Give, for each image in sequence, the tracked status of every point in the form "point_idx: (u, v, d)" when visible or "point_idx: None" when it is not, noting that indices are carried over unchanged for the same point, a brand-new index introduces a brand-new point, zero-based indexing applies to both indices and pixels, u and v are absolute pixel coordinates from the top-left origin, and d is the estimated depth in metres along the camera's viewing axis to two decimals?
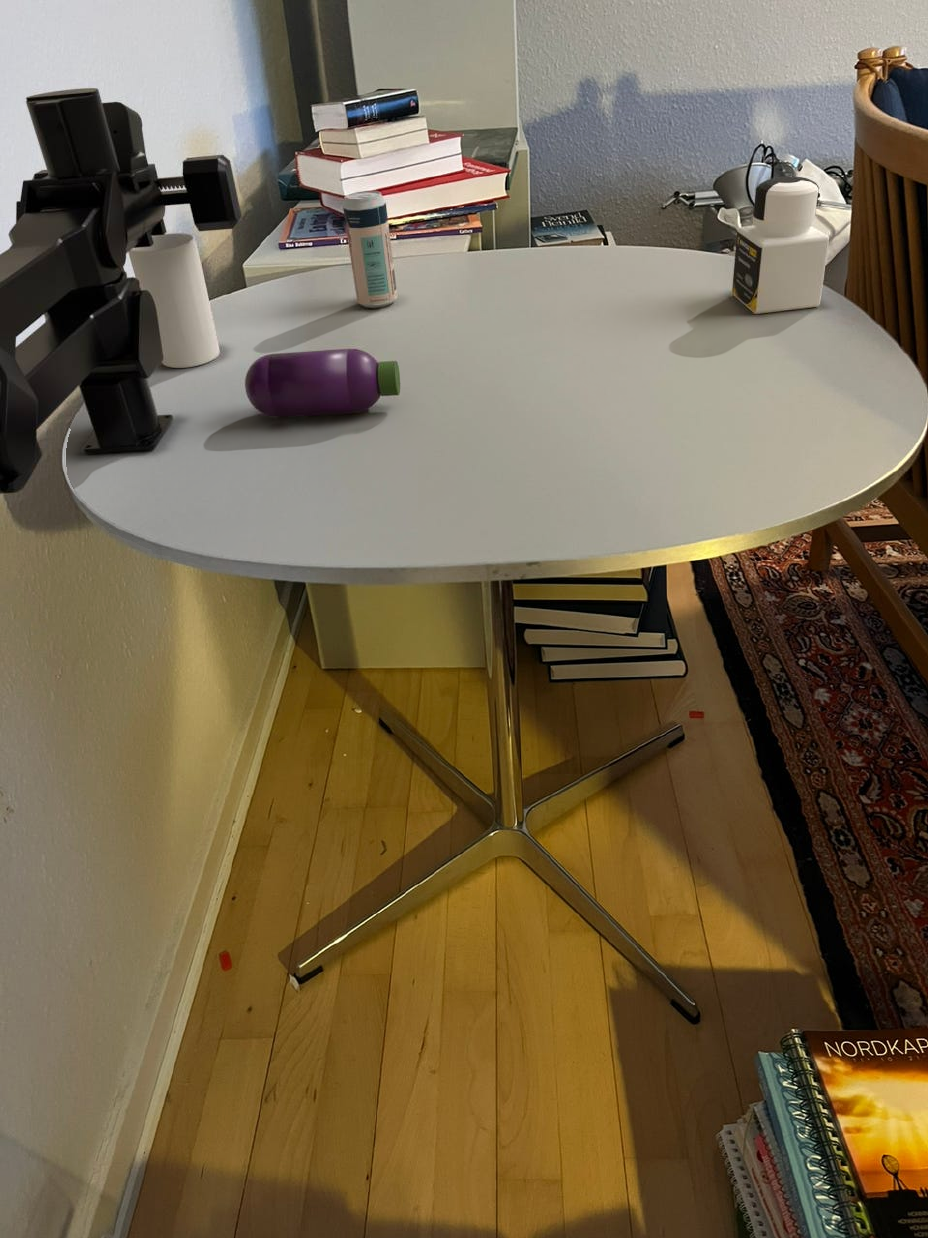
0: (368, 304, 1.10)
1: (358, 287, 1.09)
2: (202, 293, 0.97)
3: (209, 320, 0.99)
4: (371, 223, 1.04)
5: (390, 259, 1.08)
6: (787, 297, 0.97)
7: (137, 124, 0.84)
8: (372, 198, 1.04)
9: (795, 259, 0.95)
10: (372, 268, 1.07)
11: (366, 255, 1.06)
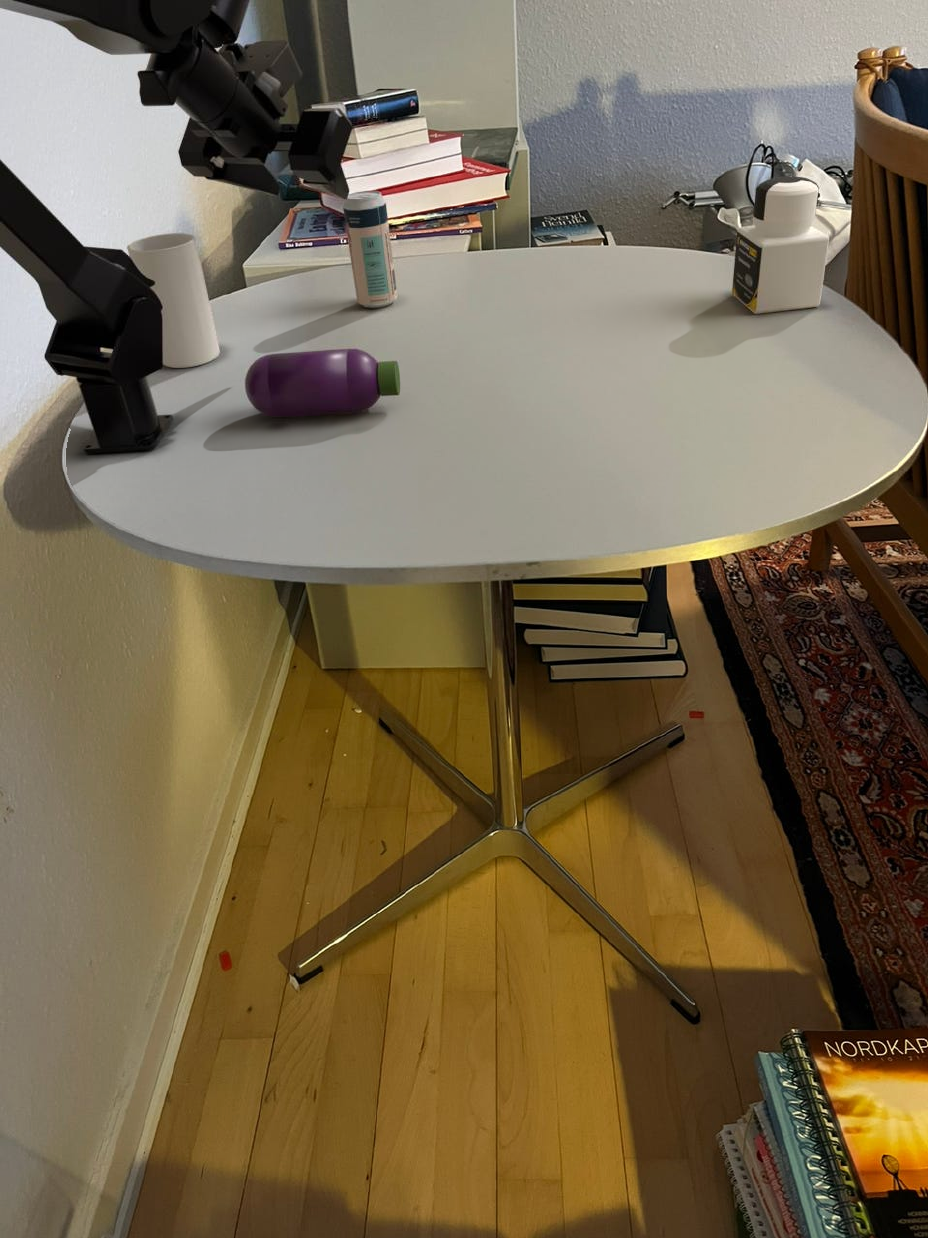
0: (368, 304, 1.10)
1: (358, 287, 1.09)
2: (202, 293, 0.97)
3: (209, 320, 0.99)
4: (371, 224, 1.04)
5: (390, 259, 1.08)
6: (787, 297, 0.97)
7: (292, 68, 0.89)
8: (372, 198, 1.04)
9: (795, 259, 0.95)
10: (372, 268, 1.07)
11: (366, 255, 1.06)
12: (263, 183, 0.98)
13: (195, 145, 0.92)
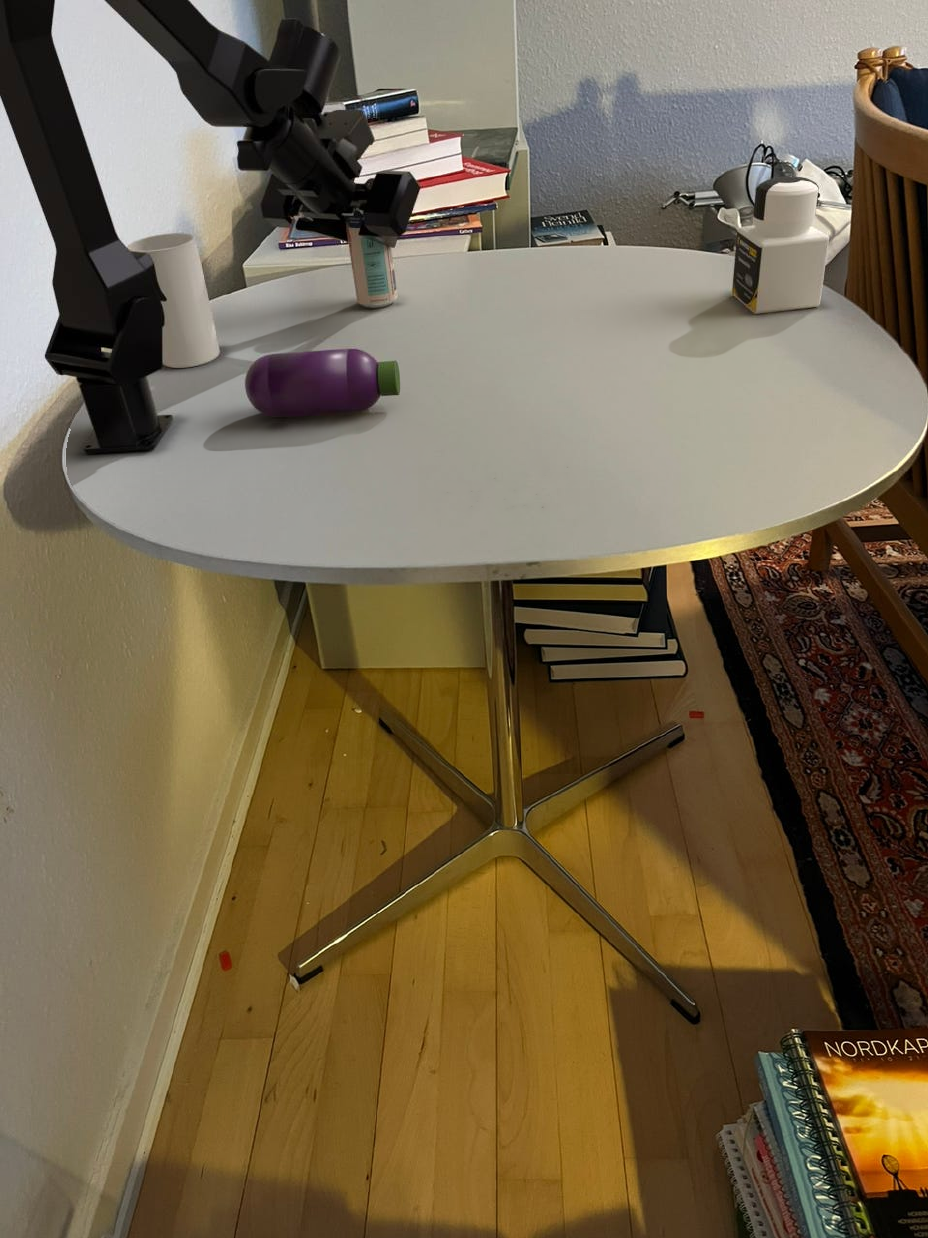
0: (368, 304, 1.10)
1: (358, 287, 1.09)
2: (202, 293, 0.97)
3: (209, 320, 0.99)
4: None
5: (390, 259, 1.08)
6: (787, 297, 0.97)
7: (366, 134, 0.99)
8: None
9: (795, 259, 0.95)
10: (372, 268, 1.07)
11: (366, 255, 1.06)
12: None
13: (276, 200, 1.03)
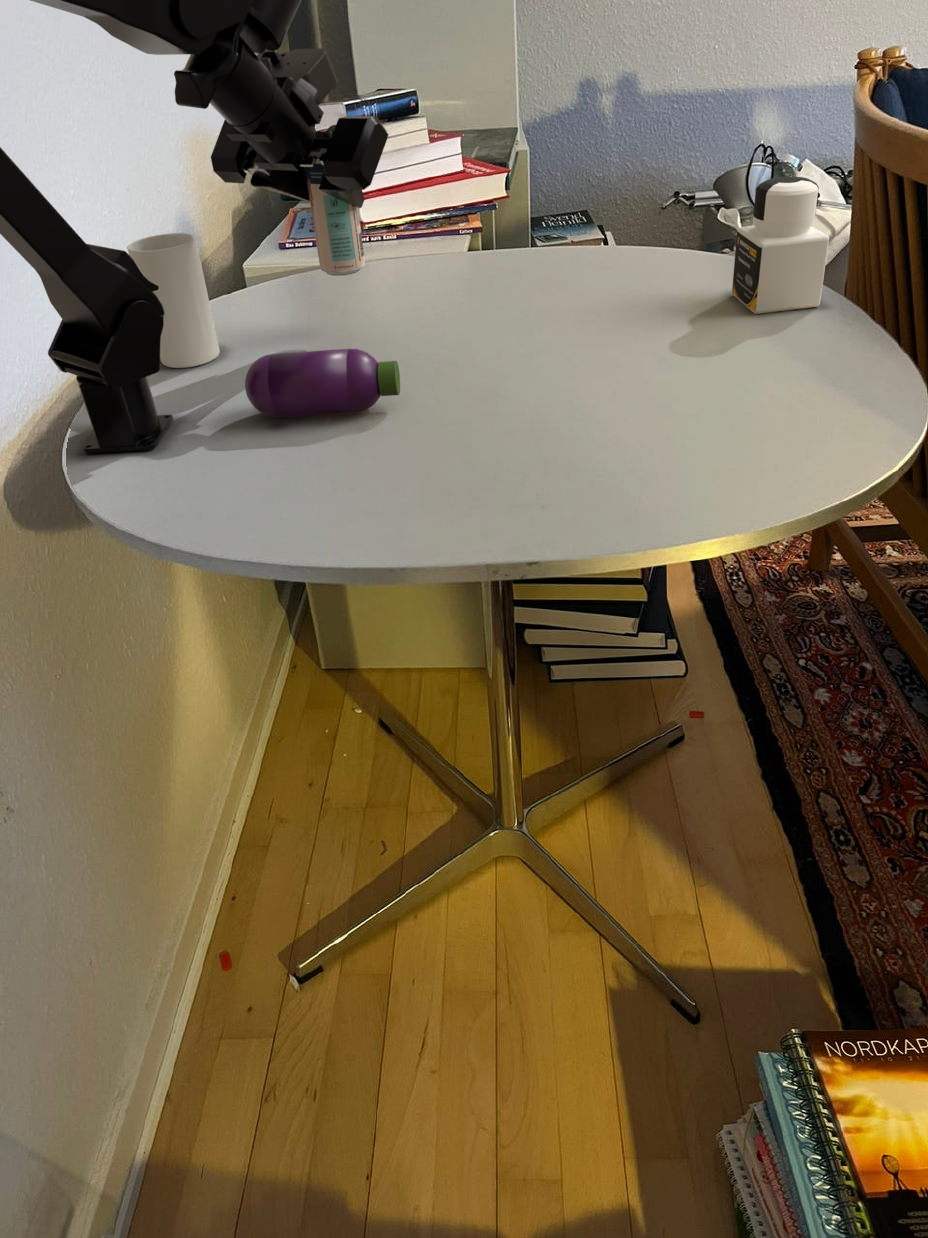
0: (332, 270, 0.99)
1: (321, 252, 0.98)
2: (202, 293, 0.97)
3: (209, 320, 0.99)
4: None
5: (356, 221, 0.97)
6: (787, 297, 0.97)
7: (328, 76, 0.89)
8: None
9: (795, 259, 0.95)
10: (336, 230, 0.96)
11: (329, 215, 0.95)
12: None
13: (228, 151, 0.92)
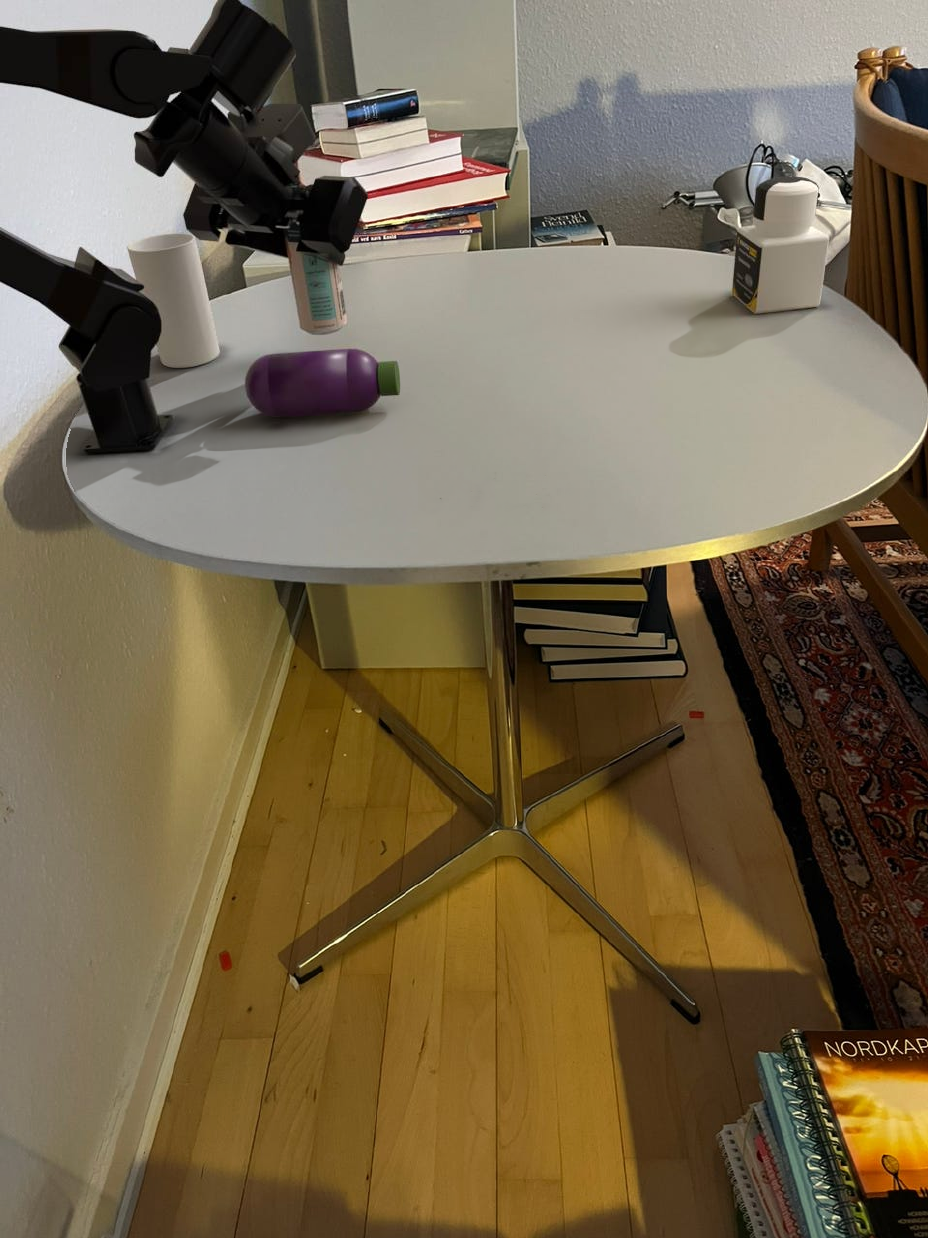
0: (312, 330, 0.94)
1: (301, 311, 0.94)
2: (202, 293, 0.97)
3: (209, 320, 0.99)
4: None
5: (337, 279, 0.93)
6: (787, 297, 0.97)
7: (305, 133, 0.84)
8: None
9: (795, 259, 0.95)
10: (316, 289, 0.92)
11: (308, 274, 0.91)
12: None
13: (201, 209, 0.88)
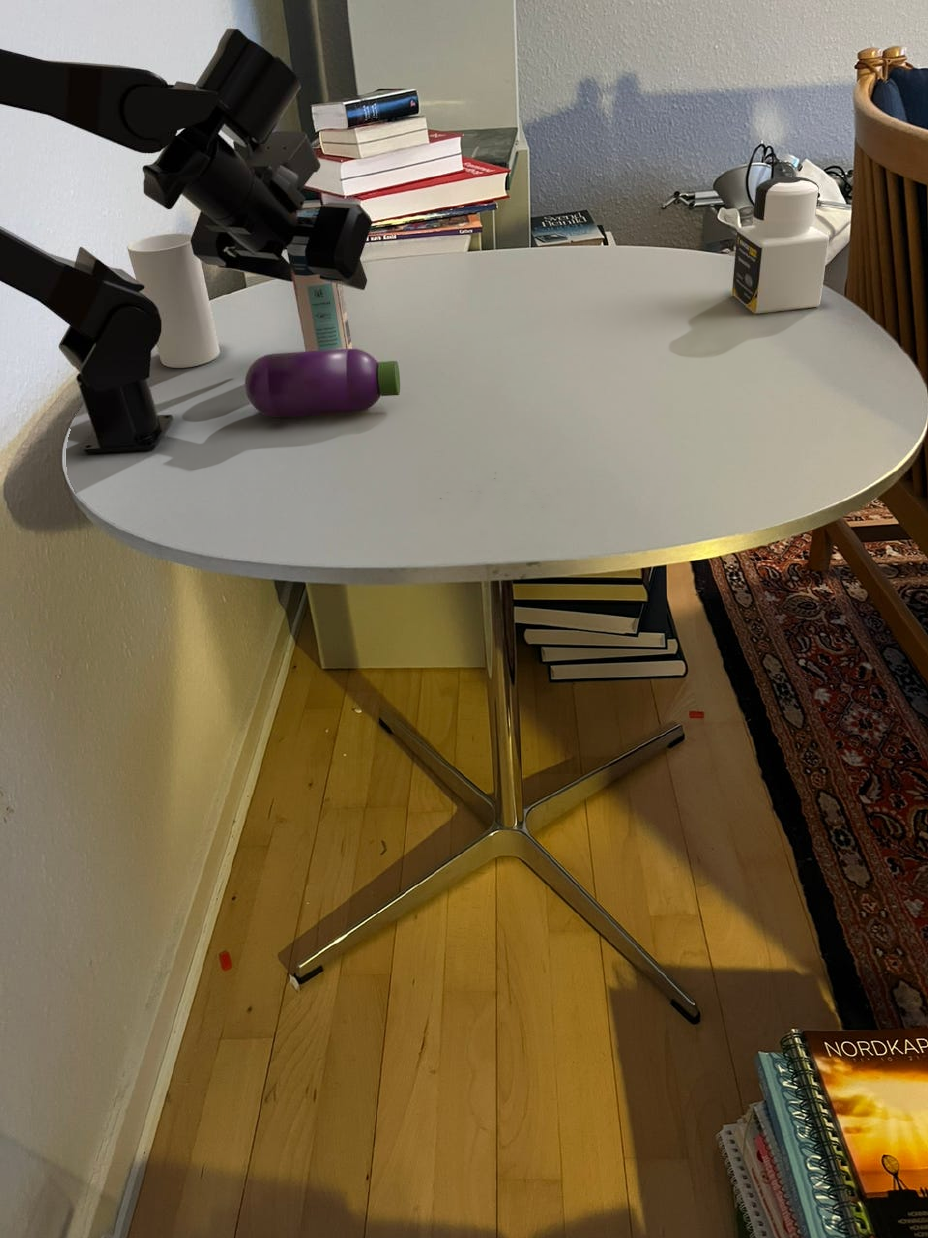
0: None
1: (307, 341, 0.96)
2: (202, 293, 0.97)
3: (209, 320, 0.99)
4: None
5: (342, 310, 0.94)
6: (787, 297, 0.97)
7: (310, 160, 0.85)
8: None
9: (795, 259, 0.95)
10: (321, 320, 0.94)
11: (314, 306, 0.93)
12: (278, 270, 0.95)
13: (208, 235, 0.89)
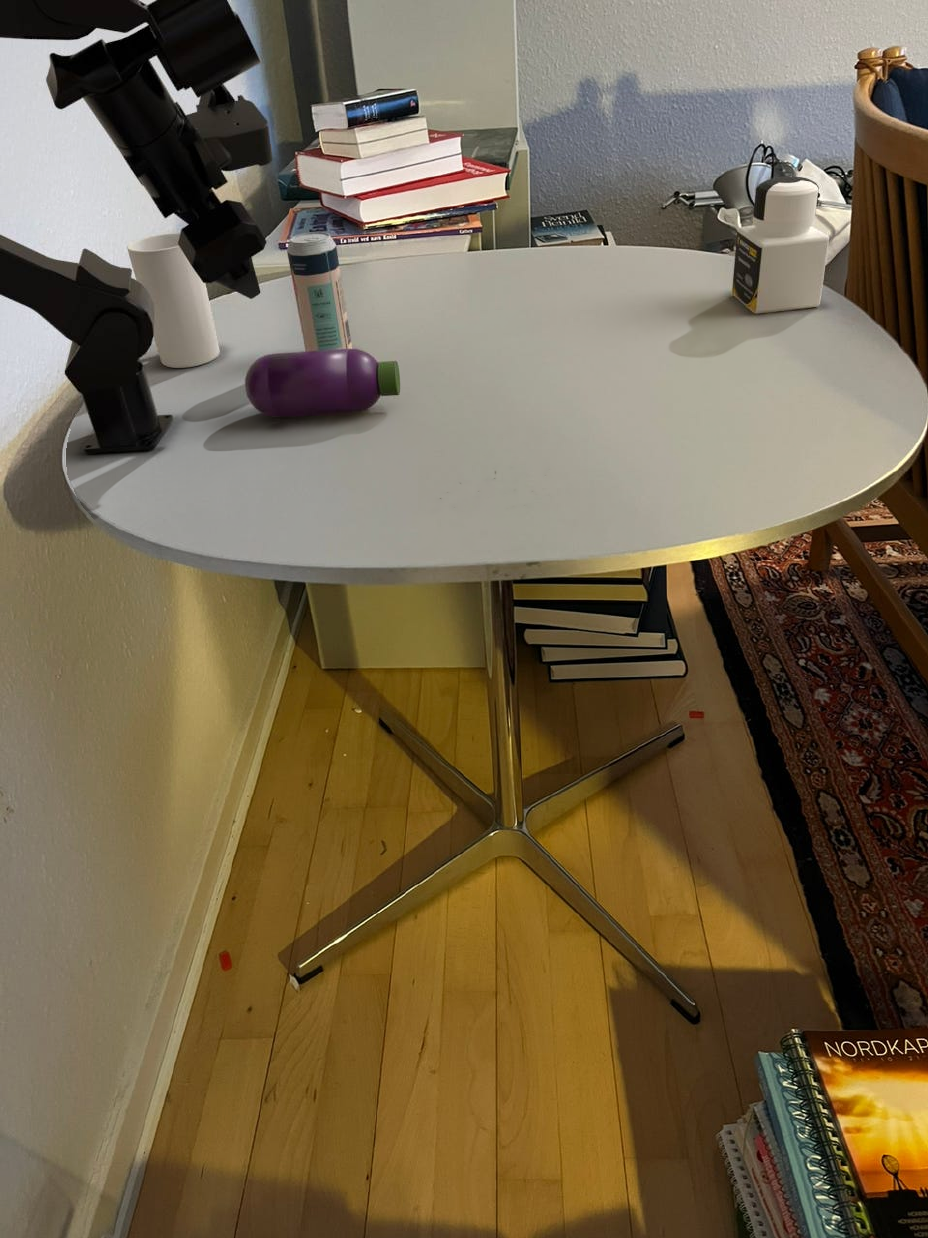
0: None
1: (307, 341, 0.96)
2: (202, 293, 0.97)
3: (209, 320, 0.99)
4: (319, 271, 0.91)
5: (342, 310, 0.94)
6: (787, 297, 0.97)
7: (257, 152, 0.77)
8: (320, 242, 0.90)
9: (795, 259, 0.95)
10: (321, 320, 0.94)
11: (314, 306, 0.93)
12: None
13: None
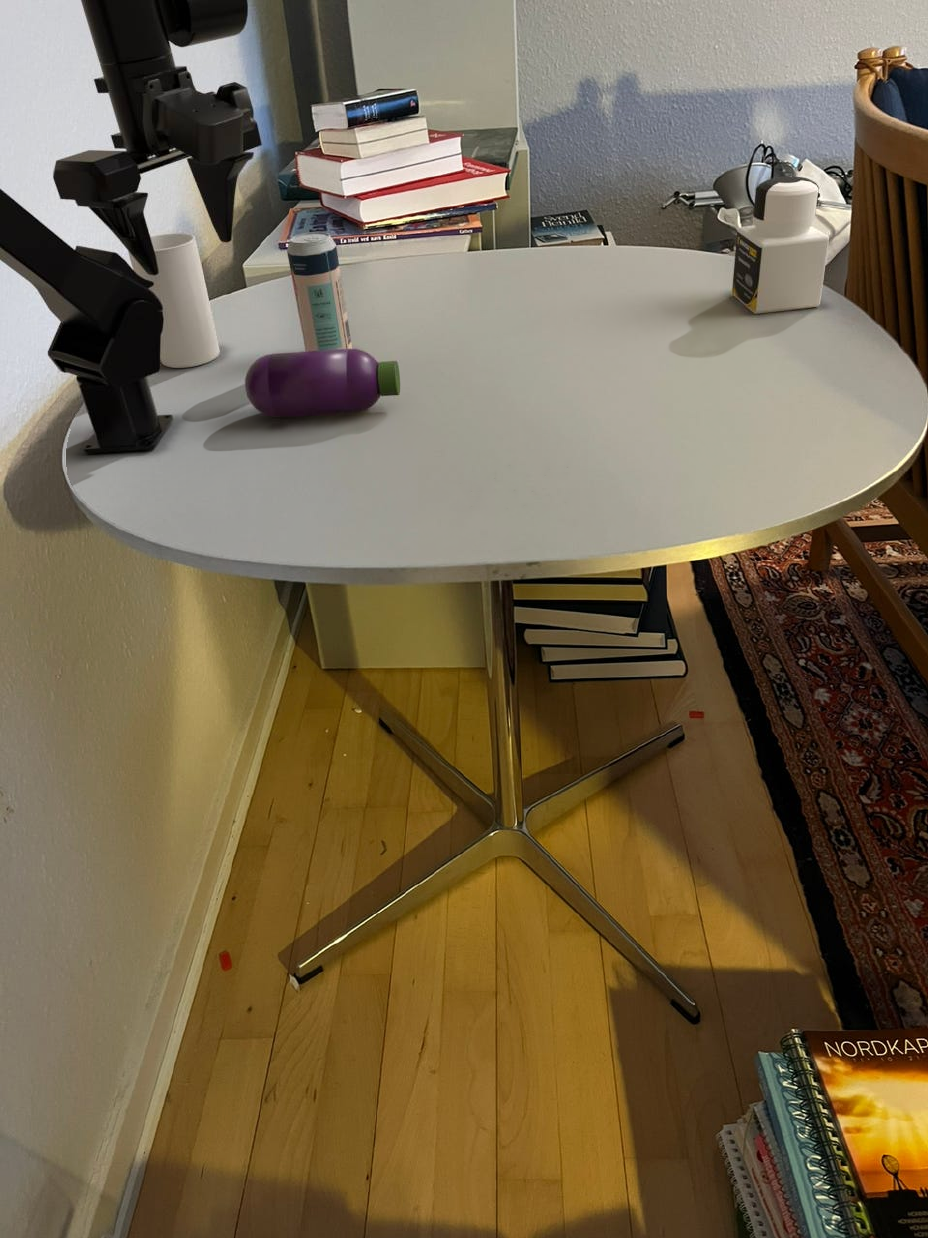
0: None
1: (307, 341, 0.96)
2: (202, 293, 0.97)
3: (209, 320, 0.99)
4: (319, 271, 0.91)
5: (342, 310, 0.94)
6: (787, 297, 0.97)
7: (192, 143, 0.74)
8: (320, 242, 0.90)
9: (795, 259, 0.95)
10: (321, 320, 0.94)
11: (314, 306, 0.93)
12: (214, 214, 0.86)
13: None
